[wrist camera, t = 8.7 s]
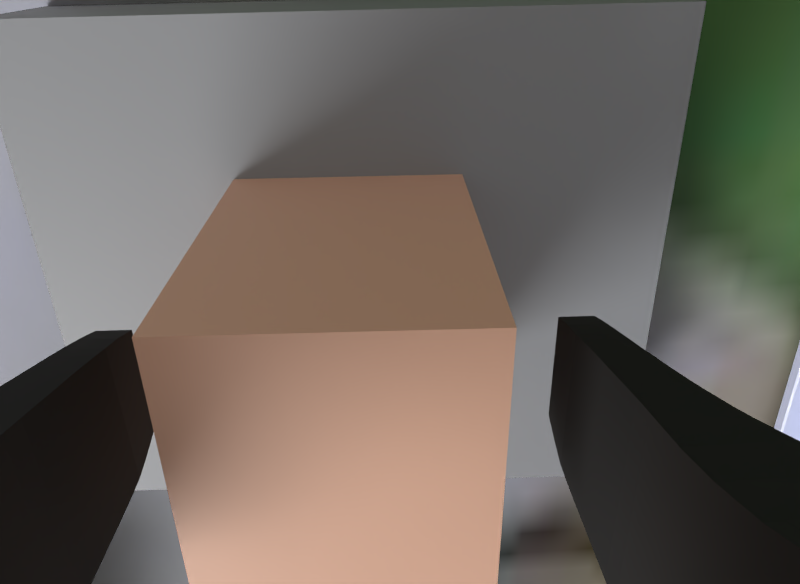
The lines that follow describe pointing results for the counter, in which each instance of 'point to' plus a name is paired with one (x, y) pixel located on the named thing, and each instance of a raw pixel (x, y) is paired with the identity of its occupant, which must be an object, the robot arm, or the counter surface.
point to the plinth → (357, 145)
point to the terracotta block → (334, 385)
